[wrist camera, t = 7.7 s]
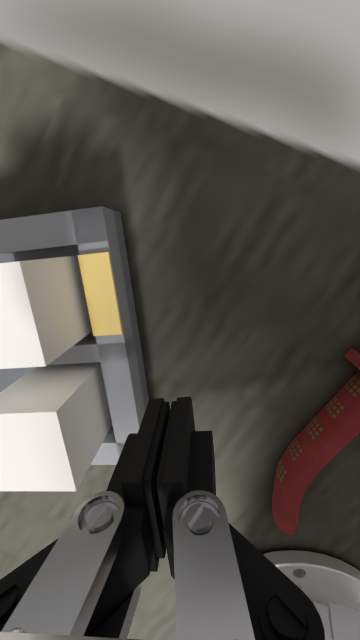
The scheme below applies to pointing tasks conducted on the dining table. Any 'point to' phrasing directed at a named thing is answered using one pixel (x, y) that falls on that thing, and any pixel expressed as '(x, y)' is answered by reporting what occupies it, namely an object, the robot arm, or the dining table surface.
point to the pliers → (315, 449)
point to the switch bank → (91, 307)
